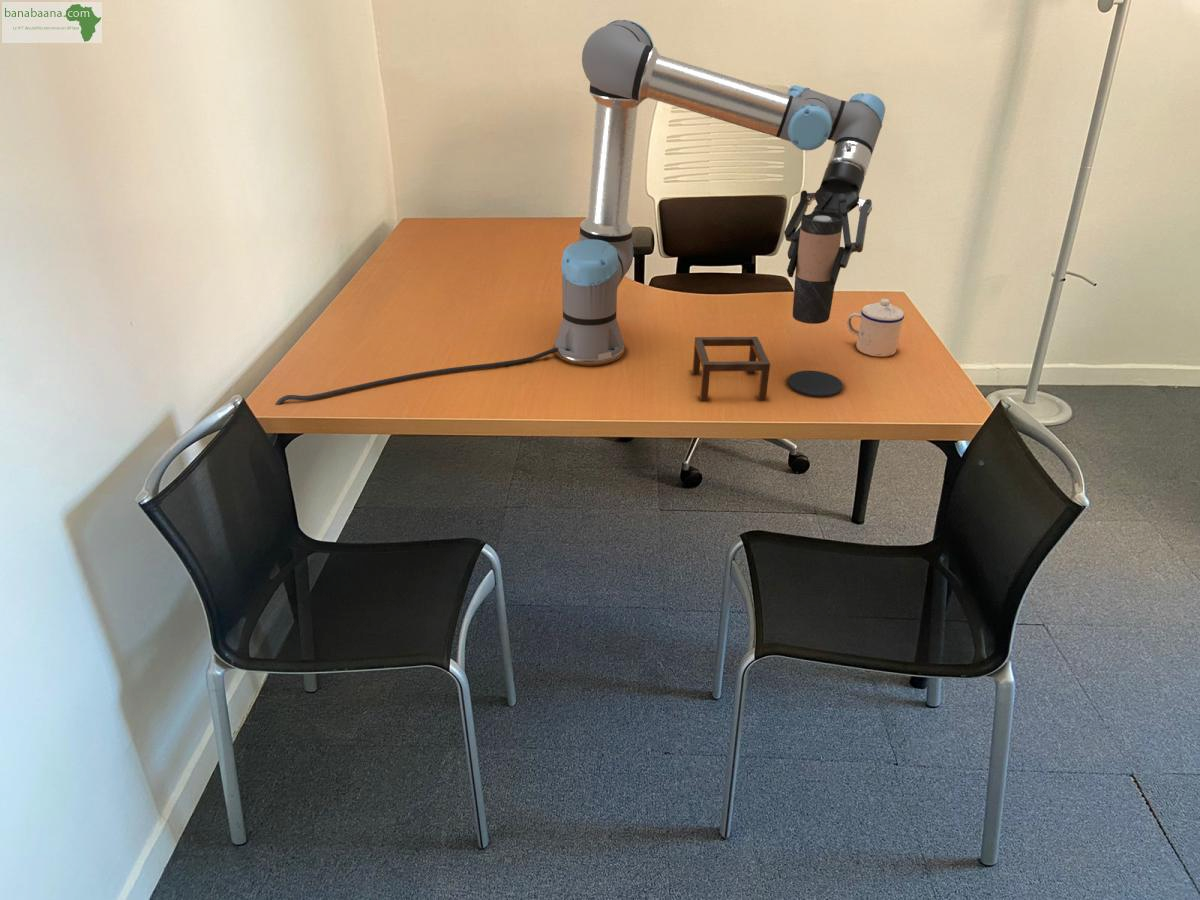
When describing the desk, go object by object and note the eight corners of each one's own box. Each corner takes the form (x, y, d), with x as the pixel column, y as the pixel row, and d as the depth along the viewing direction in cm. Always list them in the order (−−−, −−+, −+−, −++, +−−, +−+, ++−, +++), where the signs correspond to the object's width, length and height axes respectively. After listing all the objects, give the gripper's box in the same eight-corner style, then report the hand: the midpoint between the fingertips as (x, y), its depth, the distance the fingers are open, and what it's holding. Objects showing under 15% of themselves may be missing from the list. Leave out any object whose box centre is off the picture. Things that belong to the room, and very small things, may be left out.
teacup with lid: (902, 347, 195) (912, 298, 189) (889, 361, 189) (899, 311, 183) (850, 334, 201) (859, 286, 195) (836, 348, 194) (844, 299, 188)
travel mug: (831, 325, 167) (844, 222, 156) (790, 323, 168) (801, 221, 158) (830, 310, 173) (843, 210, 163) (791, 308, 174) (801, 209, 164)
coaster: (794, 397, 174) (794, 395, 173) (782, 373, 183) (782, 370, 183) (848, 397, 174) (849, 394, 174) (833, 372, 184) (834, 370, 183)
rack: (700, 400, 172) (703, 364, 168) (692, 371, 183) (694, 337, 179) (765, 400, 173) (770, 363, 168) (753, 371, 184) (757, 336, 180)
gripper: (791, 154, 168) (755, 259, 164) (899, 166, 160) (864, 277, 156) (796, 176, 175) (762, 277, 171) (900, 189, 166) (866, 296, 163)
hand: (810, 277), depth 163 cm, fingers closed on travel mug, 7 cm apart
